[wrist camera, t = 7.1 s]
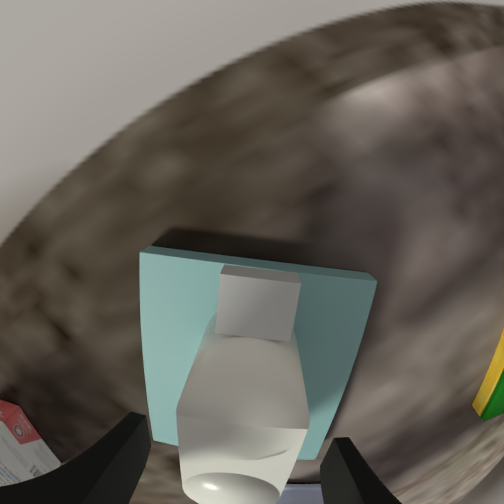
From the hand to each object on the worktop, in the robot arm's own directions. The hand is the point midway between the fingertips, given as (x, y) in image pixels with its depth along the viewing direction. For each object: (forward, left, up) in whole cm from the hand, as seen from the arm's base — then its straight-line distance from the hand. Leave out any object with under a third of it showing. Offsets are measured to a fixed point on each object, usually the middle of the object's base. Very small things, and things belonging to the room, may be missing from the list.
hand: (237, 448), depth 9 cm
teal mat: (0, 0, -5) cm, 5 cm away
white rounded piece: (0, 0, -4) cm, 4 cm away
